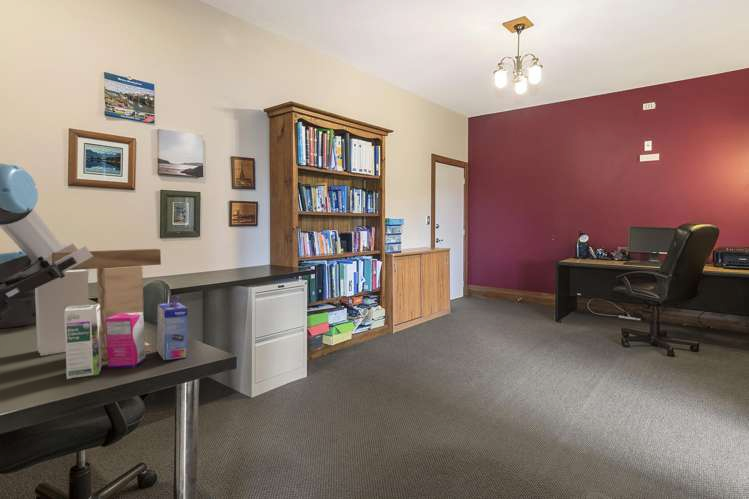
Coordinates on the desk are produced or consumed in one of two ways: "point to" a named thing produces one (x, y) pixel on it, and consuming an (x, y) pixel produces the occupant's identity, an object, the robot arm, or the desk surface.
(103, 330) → the stand
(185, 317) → the ink cartridge box
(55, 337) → the pedestal
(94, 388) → the desk surface
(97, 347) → the syrup box
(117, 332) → the supplement box
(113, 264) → the rail
